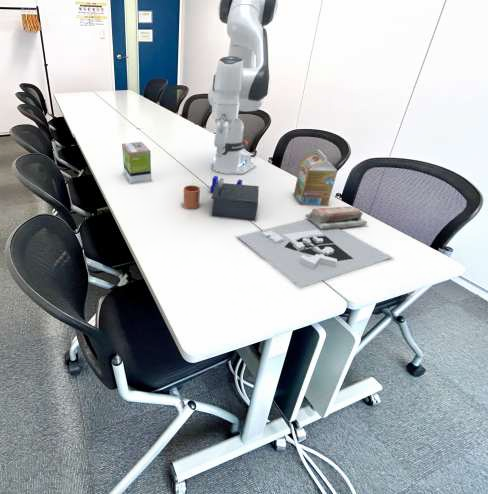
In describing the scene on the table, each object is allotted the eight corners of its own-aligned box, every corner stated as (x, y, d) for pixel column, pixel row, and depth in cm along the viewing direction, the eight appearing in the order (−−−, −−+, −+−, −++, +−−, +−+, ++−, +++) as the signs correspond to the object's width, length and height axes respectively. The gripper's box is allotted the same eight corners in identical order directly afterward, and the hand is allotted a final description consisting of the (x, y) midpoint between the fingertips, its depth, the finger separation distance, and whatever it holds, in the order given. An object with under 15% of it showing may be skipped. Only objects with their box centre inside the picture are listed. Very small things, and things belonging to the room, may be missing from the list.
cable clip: (210, 192, 143) (211, 179, 140) (213, 189, 147) (214, 175, 143) (238, 197, 139) (239, 183, 136) (240, 193, 142) (242, 180, 139)
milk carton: (293, 193, 142) (303, 148, 132) (319, 194, 141) (331, 149, 131) (300, 204, 133) (311, 157, 123) (327, 205, 132) (341, 157, 122)
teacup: (191, 200, 136) (191, 184, 132) (202, 205, 132) (203, 188, 128) (180, 205, 133) (180, 188, 129) (191, 210, 129) (191, 192, 125)
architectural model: (317, 218, 123) (319, 212, 122) (390, 258, 100) (393, 252, 99) (237, 237, 111) (238, 232, 110) (300, 288, 89) (301, 281, 88)
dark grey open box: (212, 216, 125) (213, 199, 121) (216, 200, 137) (217, 184, 133) (255, 220, 121) (257, 203, 118) (255, 204, 133) (258, 188, 130)
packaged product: (325, 217, 111) (307, 205, 120) (321, 230, 114) (304, 217, 122) (371, 213, 115) (351, 201, 123) (366, 225, 117) (347, 213, 126)
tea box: (123, 173, 164) (121, 142, 156) (143, 171, 167) (142, 141, 159) (130, 184, 152) (128, 151, 144) (151, 181, 155) (151, 149, 147)
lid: (211, 198, 121) (212, 187, 119) (215, 184, 133) (216, 173, 131) (257, 203, 118) (259, 191, 115) (258, 188, 130) (260, 176, 127)
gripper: (232, 118, 103) (227, 162, 110) (236, 108, 120) (231, 147, 127) (212, 117, 104) (208, 161, 111) (218, 107, 121) (214, 145, 128)
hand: (220, 153), depth 119 cm, fingers open, 8 cm apart
